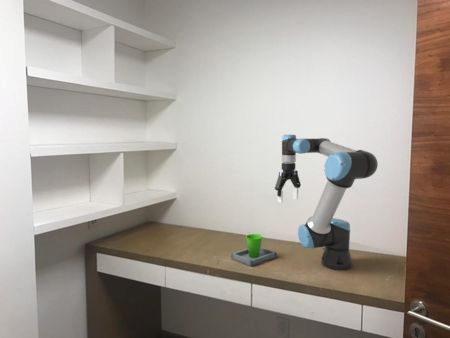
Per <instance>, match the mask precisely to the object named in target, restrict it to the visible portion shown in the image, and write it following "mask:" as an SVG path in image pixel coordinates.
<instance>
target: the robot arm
mask: <svg viewBox="0 0 450 338" xmlns="http://www.w3.org/2000/svg"><path fill="white" fill-rule="evenodd" d="M309 153H310V154H311V153H312V154H313V153H317V154H320V155H323V156H325V157H327V158H326V159H325V162H324V175H325V178H326V180H327V181H326V184H325V185H324V189H323V191H322V193H321V195H320V198H319V200H318V202H317V205H316V207H315V209H314V212H313V215H312V216H309V217H308V218H307V219H306V222H305V224H300V225H299V227H298V229H297V235H298V240H299V242H300V244H301V246H302V247H303V248H305V249H317V248H324V247H325V248H324V250H323V253H322V255H321V260H320V263H321V265H322V266H324V267H325V268H327V269H331V270H338V271H339V270H340V271H344V270H350V269H352V268H353V259H352V256H351V253H350V241H351V240H350V236H351V224H350V223H349V221H347V220H343V219H341V218H334V216H335V213H336V212H337V210H338V208H339V206H340V204H341V200H342V199H343V196H344V195H345V192H346V191H347V189H350V188H351V187H353V184H354V182H355V181H356V180H361V179H362V180H363V179H367V178H370V177H372V176H373V175H374V174H375V173H376V171H377V170H378V166H379V165H378V159H377V158H376V155H374V154H373V153H371V152H369V151H366V150H362V149H357V150H356V149H352V148H350V147H347V146H344V145H341V144H338V143H335V142H332V141H331V140H330V139H329V138H325V137H321V138H320V137H319V138H297V135H296V134H283V135H282V138H281V162H282V163H281V170H282V172H281V171H280V172H278V177H277V179H276V183H275V186H274V190H276V191H277V202H278V203H281V204H282V203H283V197H284V196H283V194H284V193H283V192H284V191H283V188H284V186H285V185H286V182H287V181H289V180H290V182H291V184H292V185H293V187H292V189H293V190H292V199H293V200H299V199H298V197H299V196H298V195H299V188H301V185H302V184H301V181H300V178H299V173H298V170H296V158H297V155H296V154H303V155H304V154H309Z"/></svg>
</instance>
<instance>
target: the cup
mask: <svg viewBox="0 0 450 338" xmlns="http://www.w3.org/2000/svg"><path fill="white" fill-rule="evenodd" d="M245 238H246V244H247V249H248V252H249V257H250V258H258V257H259V253H260V247H262V242H263V241H262V240H263V235H261V234H258V233H251V234H247V235H246V236H245Z"/></svg>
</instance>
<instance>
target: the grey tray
mask: <svg viewBox="0 0 450 338" xmlns="http://www.w3.org/2000/svg"><path fill="white" fill-rule="evenodd" d="M230 254H231V256H230V258H231V260H232V261H235V262H238V263H240V264H243V265H245V266H248V267H251V268H252V267H255V266H257V265H260V264H263V263H265V262H268V261H271V260H274V259H277V252H276V251H275V250H274V251H273V250H271V249H268V248H265V247H262V246H261V247H260V253H259V257H258V258H250V257H249V252H248V248H244V249H242V250H239V251H236V252H233V253H230Z"/></svg>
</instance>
